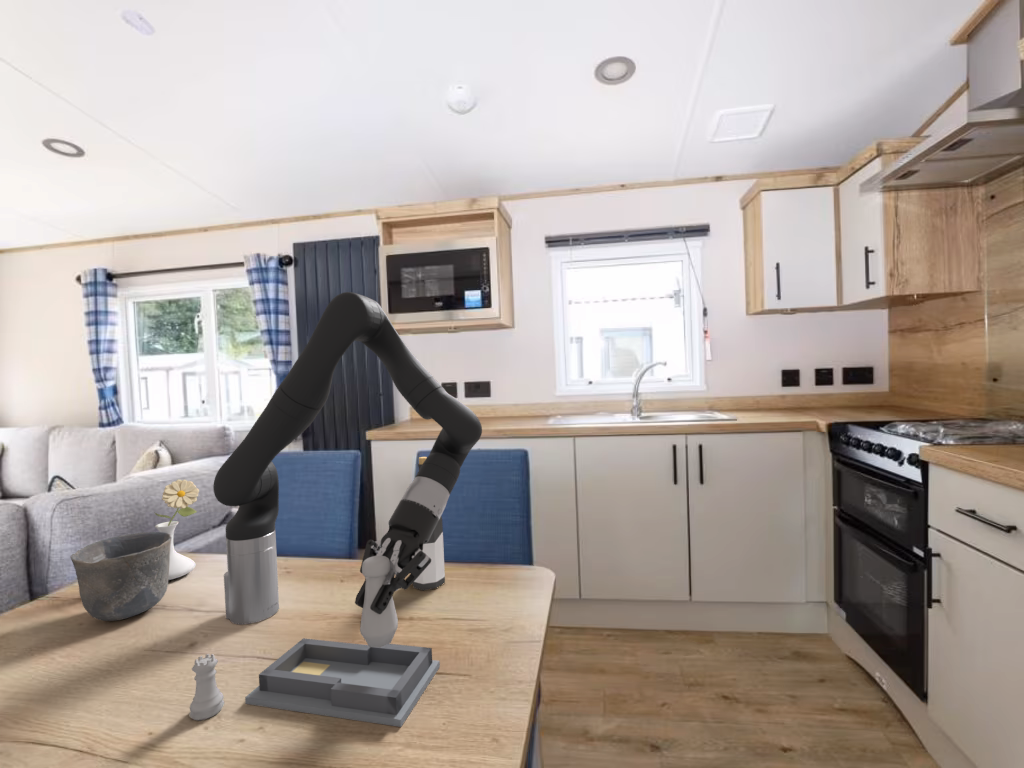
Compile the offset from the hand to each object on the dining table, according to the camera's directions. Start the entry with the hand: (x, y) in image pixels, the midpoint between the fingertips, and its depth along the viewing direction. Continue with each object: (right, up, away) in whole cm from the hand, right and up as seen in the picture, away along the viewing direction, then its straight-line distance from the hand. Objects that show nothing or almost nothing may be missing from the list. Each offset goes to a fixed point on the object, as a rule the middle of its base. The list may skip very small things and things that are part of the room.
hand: (367, 608), depth 73 cm
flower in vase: (-66, -16, +51) cm, 85 cm away
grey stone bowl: (-63, -16, +32) cm, 72 cm away
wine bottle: (+2, -13, +40) cm, 42 cm away
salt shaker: (+1, -6, +2) cm, 6 cm away
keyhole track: (-4, -14, +3) cm, 15 cm away
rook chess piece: (-23, -15, -2) cm, 28 cm away
